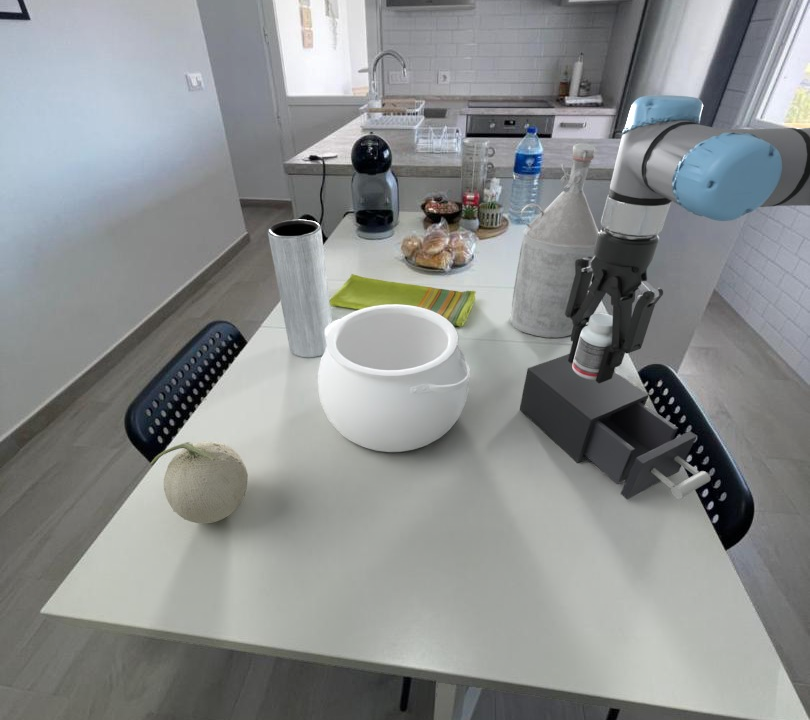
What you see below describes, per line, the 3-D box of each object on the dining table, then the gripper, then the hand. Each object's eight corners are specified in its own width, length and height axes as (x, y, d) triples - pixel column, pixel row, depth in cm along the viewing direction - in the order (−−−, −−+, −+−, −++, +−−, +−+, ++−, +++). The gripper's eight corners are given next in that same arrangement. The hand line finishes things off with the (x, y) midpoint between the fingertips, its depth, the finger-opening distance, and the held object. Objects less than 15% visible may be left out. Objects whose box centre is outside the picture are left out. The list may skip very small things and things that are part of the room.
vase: (299, 363, 95) (278, 241, 80) (283, 342, 102) (260, 225, 86) (342, 349, 100) (329, 230, 84) (323, 329, 106) (308, 216, 91)
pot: (288, 417, 82) (272, 342, 72) (380, 351, 99) (377, 283, 89) (414, 494, 68) (414, 414, 58) (496, 402, 85) (507, 328, 75)
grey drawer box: (631, 437, 77) (649, 394, 71) (577, 463, 72) (591, 419, 67) (570, 389, 88) (581, 349, 82) (519, 409, 83) (527, 368, 77)
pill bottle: (607, 383, 70) (624, 330, 65) (571, 377, 72) (585, 325, 66) (604, 364, 75) (620, 312, 69) (571, 359, 76) (584, 308, 70)
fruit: (186, 481, 70) (154, 410, 61) (260, 476, 70) (239, 405, 62) (161, 542, 61) (120, 469, 53) (246, 536, 62) (219, 463, 53)
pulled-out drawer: (709, 495, 66) (731, 459, 61) (656, 526, 62) (675, 490, 57) (610, 418, 79) (622, 384, 75) (561, 440, 75) (571, 405, 71)
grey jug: (505, 309, 114) (529, 137, 91) (576, 314, 111) (619, 139, 88) (505, 335, 104) (532, 150, 81) (583, 342, 101) (633, 152, 78)
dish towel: (463, 329, 106) (464, 318, 104) (328, 307, 115) (326, 296, 114) (476, 300, 118) (477, 289, 116) (352, 282, 127) (351, 271, 125)
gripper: (713, 248, 54) (653, 394, 68) (597, 207, 68) (566, 337, 81) (672, 259, 51) (617, 410, 65) (559, 215, 65) (533, 347, 78)
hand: (589, 369), depth 73 cm, fingers closed on pill bottle, 5 cm apart
